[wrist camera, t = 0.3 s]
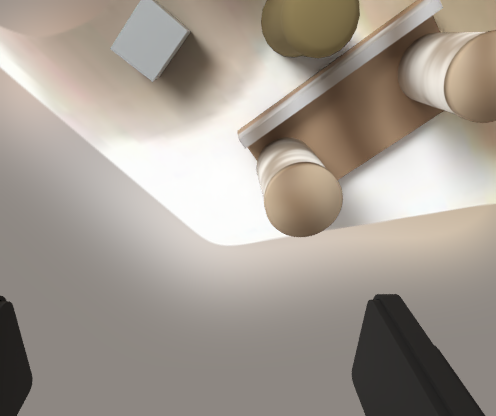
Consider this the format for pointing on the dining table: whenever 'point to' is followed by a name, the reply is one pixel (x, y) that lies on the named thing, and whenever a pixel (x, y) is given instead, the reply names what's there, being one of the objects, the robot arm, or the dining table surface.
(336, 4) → the cork
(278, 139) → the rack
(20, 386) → the robot arm
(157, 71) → the grey rectangular block
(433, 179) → the dining table surface
